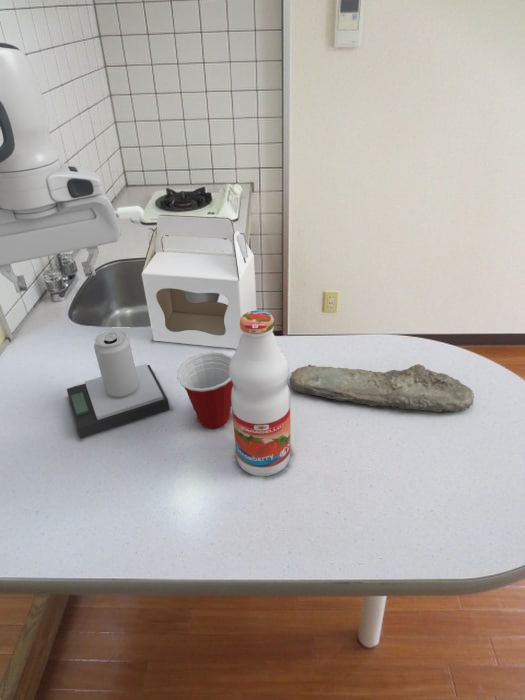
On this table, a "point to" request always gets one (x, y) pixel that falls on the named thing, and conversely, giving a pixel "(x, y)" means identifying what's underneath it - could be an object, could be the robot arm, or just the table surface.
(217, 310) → the gable box
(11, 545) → the table surface
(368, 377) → the long grey stone
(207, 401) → the plastic cup
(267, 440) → the fruit juice
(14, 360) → the table surface
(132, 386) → the beverage can
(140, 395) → the kitchen scale
